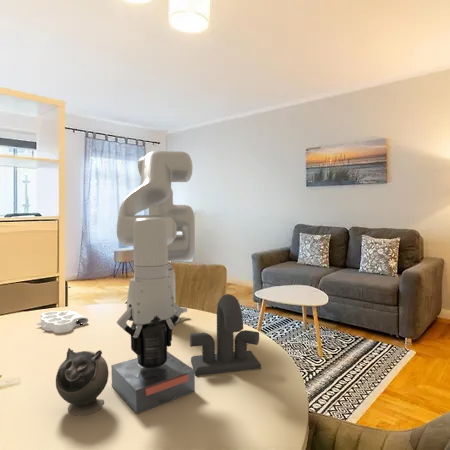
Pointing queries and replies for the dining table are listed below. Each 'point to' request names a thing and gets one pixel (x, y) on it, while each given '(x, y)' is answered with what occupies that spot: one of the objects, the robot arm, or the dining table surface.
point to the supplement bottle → (153, 344)
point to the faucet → (225, 342)
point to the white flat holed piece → (61, 321)
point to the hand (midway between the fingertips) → (152, 348)
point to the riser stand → (152, 382)
